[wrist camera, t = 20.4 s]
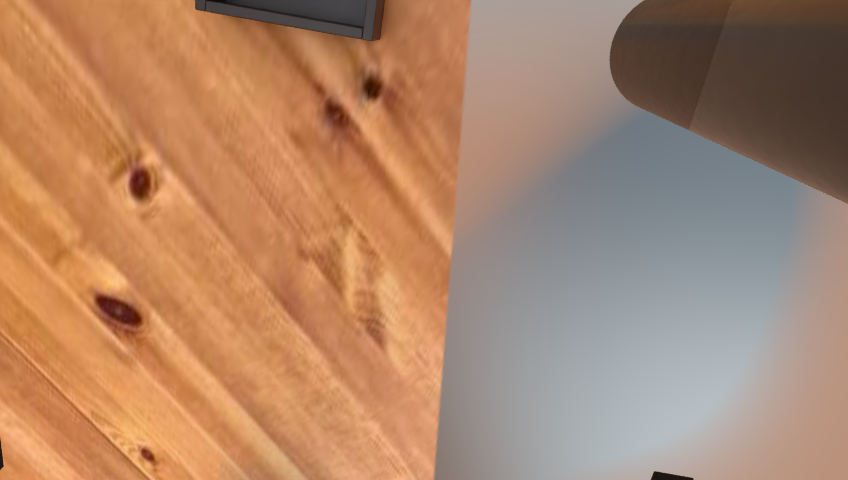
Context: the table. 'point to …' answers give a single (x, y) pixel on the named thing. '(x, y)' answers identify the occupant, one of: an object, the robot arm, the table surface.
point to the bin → (308, 14)
